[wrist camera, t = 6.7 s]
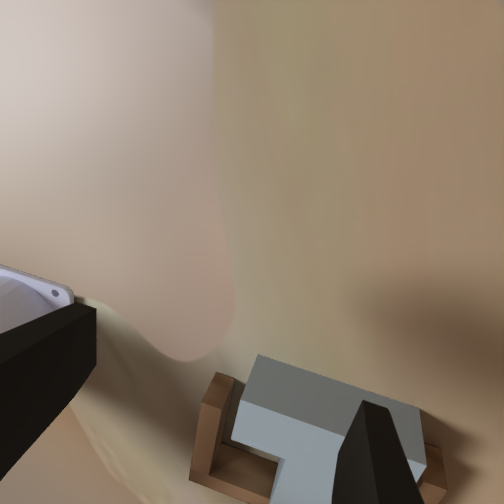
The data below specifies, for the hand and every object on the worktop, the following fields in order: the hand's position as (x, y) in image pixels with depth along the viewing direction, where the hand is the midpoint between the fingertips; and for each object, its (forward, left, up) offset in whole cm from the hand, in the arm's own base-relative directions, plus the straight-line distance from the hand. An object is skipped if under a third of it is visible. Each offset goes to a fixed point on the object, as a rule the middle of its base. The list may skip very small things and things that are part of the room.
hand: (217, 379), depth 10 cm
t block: (+4, -11, -10) cm, 15 cm away
